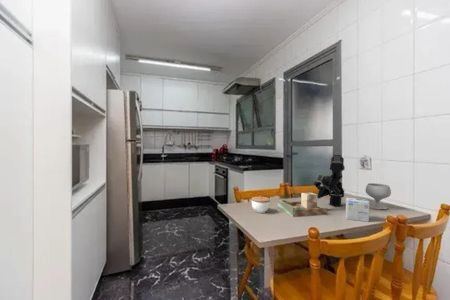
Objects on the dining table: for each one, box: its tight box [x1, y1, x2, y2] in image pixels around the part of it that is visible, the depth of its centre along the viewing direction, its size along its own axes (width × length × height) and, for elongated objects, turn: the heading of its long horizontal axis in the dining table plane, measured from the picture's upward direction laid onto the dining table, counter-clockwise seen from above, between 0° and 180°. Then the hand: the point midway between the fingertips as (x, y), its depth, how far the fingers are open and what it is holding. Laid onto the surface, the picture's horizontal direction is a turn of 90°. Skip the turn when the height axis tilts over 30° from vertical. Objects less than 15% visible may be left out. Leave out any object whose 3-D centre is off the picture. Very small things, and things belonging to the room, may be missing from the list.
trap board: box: [277, 199, 328, 217], centre depth 142 cm, size 22×17×5 cm
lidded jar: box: [251, 195, 271, 214], centre depth 140 cm, size 11×11×9 cm
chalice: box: [365, 182, 392, 210], centre depth 155 cm, size 14×14×15 cm
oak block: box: [300, 192, 318, 208], centre depth 144 cm, size 7×6×8 cm
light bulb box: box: [345, 197, 370, 223], centre depth 130 cm, size 11×7×11 cm, turn 71°
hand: (317, 197), depth 145 cm, fingers closed
